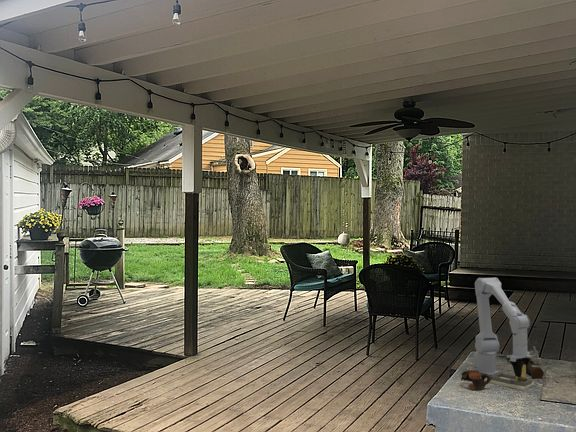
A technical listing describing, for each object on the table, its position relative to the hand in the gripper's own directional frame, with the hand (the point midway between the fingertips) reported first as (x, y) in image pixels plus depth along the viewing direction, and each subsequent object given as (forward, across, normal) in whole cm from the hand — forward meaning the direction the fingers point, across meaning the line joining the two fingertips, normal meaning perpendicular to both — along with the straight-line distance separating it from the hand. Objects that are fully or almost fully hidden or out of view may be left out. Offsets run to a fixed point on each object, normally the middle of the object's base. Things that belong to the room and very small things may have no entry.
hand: (520, 375), depth 230 cm
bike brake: (+5, +40, +19) cm, 45 cm away
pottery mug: (+4, -16, +12) cm, 20 cm away
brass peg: (+3, 0, 0) cm, 3 cm away
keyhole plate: (+4, 0, +4) cm, 6 cm away
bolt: (+5, +21, +5) cm, 22 cm away
